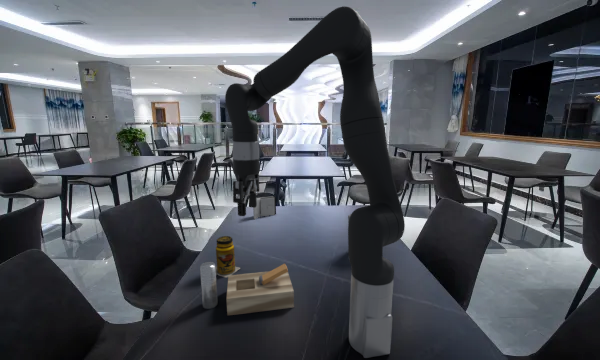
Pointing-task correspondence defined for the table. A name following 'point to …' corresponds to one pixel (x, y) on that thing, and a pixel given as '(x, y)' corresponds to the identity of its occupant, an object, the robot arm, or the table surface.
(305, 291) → the table surface
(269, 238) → the table surface
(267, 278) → the latch arm
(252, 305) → the birch block
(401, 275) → the table surface
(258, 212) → the hinge
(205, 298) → the steel peg
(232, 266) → the condiment
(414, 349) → the table surface
